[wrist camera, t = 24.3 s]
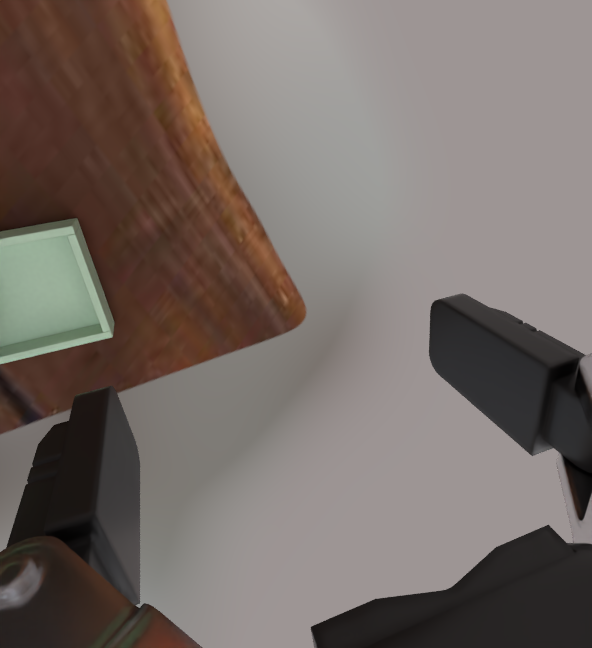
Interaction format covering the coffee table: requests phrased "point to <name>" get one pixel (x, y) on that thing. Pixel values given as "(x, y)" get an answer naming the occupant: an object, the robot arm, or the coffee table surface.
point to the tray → (49, 291)
